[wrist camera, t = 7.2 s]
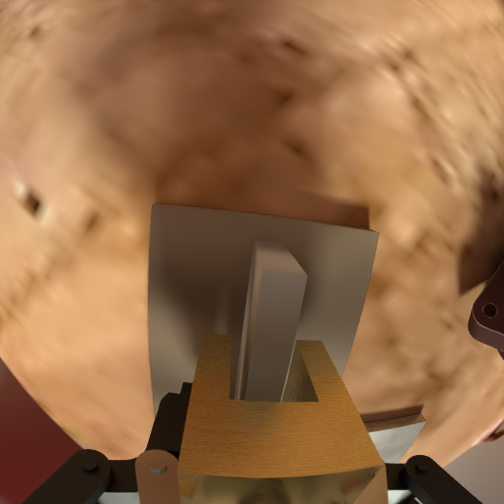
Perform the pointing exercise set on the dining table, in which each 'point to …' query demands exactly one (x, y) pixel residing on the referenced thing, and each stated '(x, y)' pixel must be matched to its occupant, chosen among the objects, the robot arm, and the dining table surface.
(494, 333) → the bracket
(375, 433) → the gray metal plate
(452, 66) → the dining table surface
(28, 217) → the dining table surface
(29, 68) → the dining table surface
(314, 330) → the rail
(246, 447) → the block with knob
